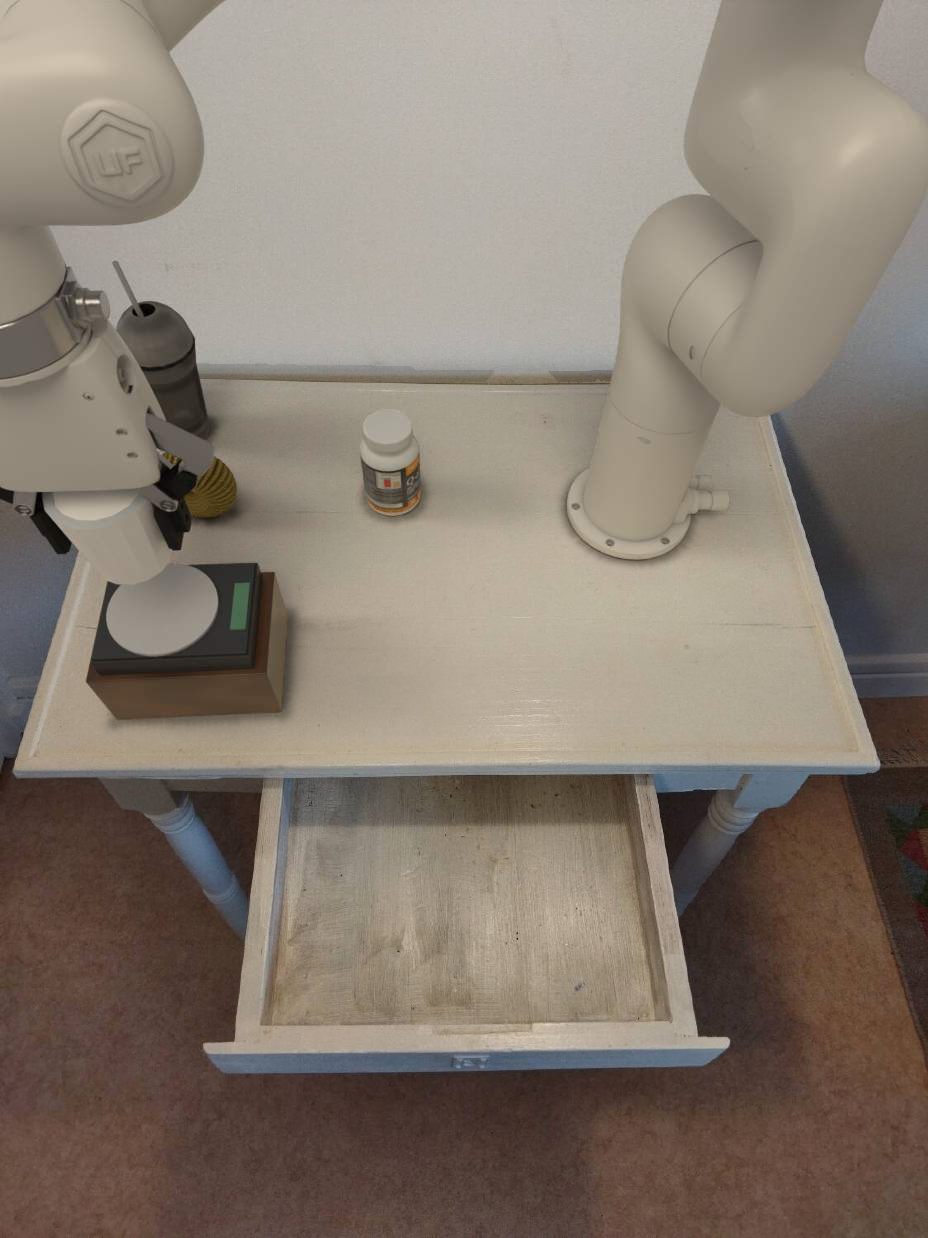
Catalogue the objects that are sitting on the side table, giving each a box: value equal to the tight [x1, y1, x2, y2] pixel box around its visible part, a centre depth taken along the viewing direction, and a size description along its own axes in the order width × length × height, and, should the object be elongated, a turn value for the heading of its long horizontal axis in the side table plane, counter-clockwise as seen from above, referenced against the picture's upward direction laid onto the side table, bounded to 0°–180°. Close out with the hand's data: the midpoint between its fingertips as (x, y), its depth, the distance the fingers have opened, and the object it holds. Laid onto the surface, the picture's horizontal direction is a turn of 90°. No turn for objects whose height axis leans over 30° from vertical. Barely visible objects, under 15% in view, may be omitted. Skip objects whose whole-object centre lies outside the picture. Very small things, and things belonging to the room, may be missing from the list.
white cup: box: [42, 489, 174, 585], centre depth 53 cm, size 7×7×7 cm
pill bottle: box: [359, 408, 422, 517], centre depth 77 cm, size 6×6×10 cm
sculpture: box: [157, 452, 238, 519], centre depth 76 cm, size 8×4×8 cm, turn 82°
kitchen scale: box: [89, 562, 262, 675], centre depth 63 cm, size 12×9×3 cm
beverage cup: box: [111, 260, 211, 441], centre depth 77 cm, size 7×7×20 cm
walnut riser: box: [85, 571, 289, 720], centre depth 67 cm, size 14×10×7 cm
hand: (123, 534), depth 54 cm, fingers closed on white cup, 6 cm apart
